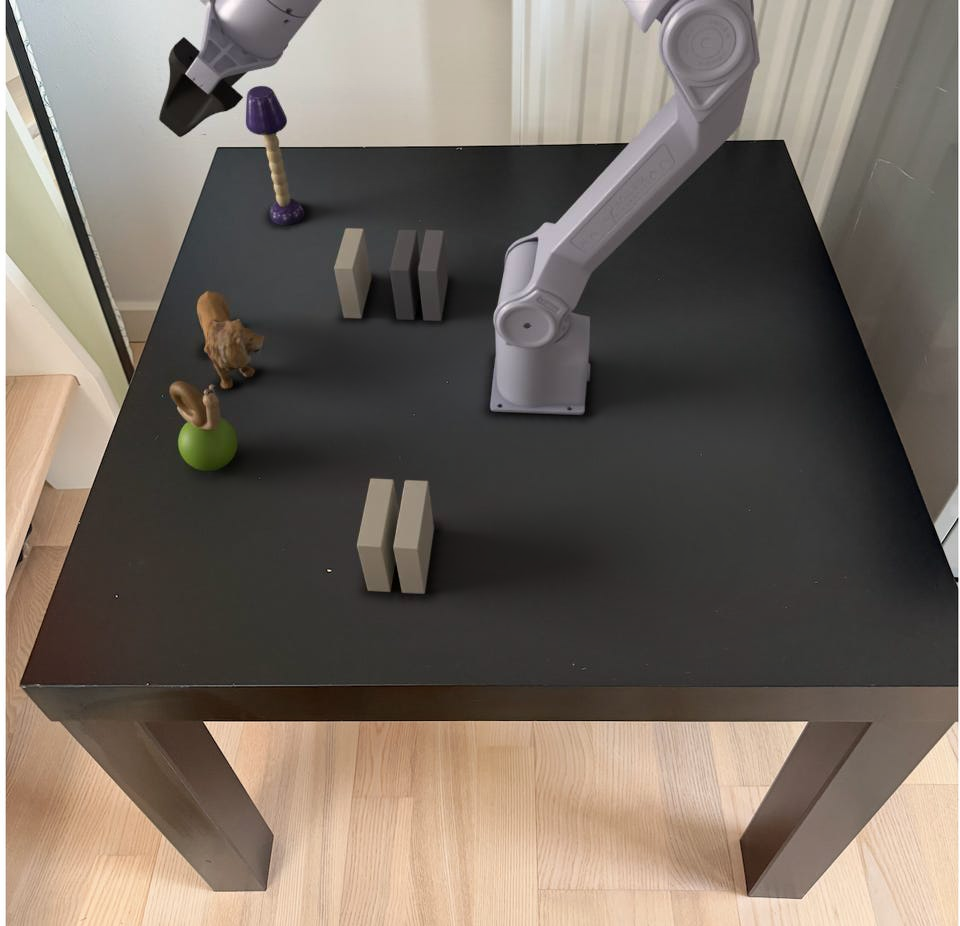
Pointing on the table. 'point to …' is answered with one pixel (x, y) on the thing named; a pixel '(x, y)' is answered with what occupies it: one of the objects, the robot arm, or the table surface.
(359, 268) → the beige square slab
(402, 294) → the grey square slab
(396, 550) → the beige square block
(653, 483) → the table surface
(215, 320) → the lion figurine
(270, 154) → the toy lamp
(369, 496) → the beige square block
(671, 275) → the table surface
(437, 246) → the gray square slab
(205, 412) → the snail figurine
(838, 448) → the table surface
